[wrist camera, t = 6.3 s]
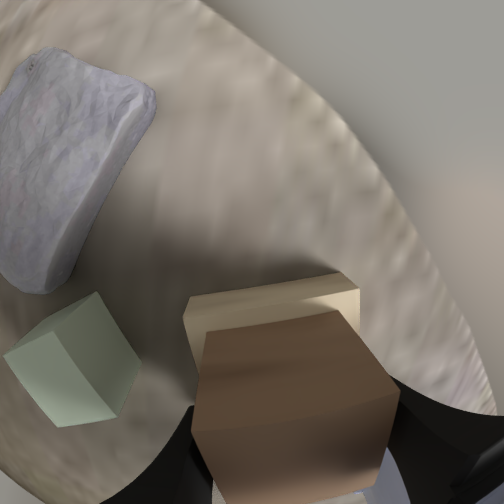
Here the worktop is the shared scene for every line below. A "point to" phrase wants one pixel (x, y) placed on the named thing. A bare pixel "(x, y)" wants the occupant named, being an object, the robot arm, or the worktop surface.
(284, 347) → the walnut cube
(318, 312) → the oak block
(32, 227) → the stone block
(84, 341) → the sage cube
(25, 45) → the worktop surface
